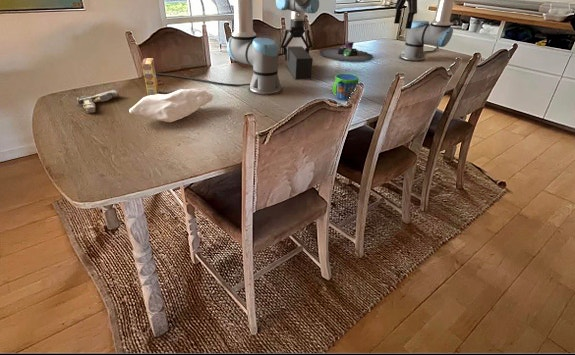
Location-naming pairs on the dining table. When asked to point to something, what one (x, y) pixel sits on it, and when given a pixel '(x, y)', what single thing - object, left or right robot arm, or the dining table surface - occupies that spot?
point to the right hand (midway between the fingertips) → (402, 26)
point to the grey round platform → (346, 53)
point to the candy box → (150, 76)
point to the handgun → (95, 100)
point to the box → (299, 62)
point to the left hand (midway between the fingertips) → (295, 60)
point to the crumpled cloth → (171, 104)
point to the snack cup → (344, 85)
